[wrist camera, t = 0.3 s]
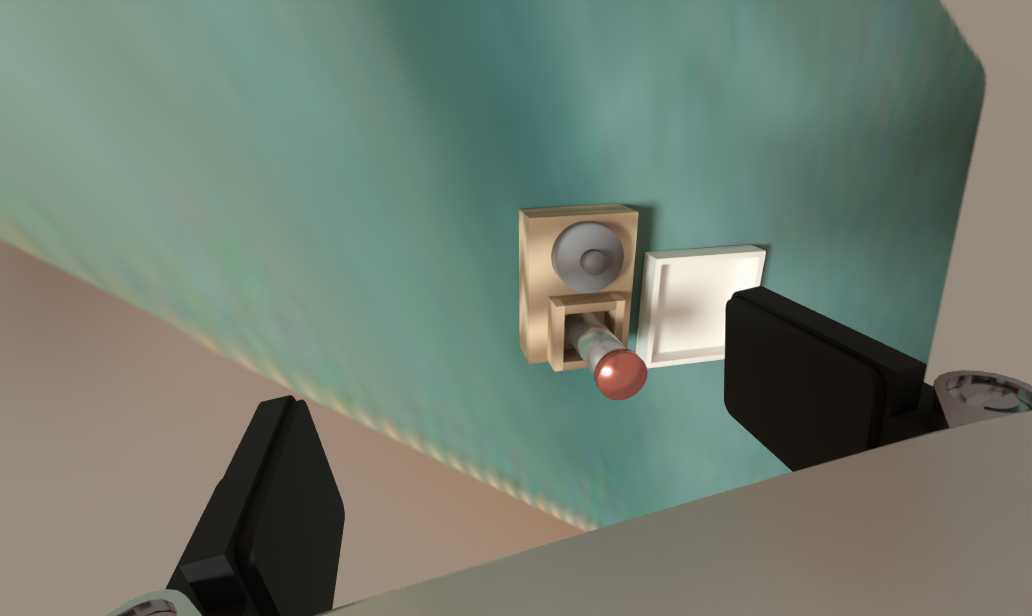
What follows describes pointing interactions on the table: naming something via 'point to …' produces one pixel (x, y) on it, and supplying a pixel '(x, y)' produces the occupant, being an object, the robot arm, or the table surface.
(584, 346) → the pin
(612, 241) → the wooden base with socket
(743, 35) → the table surface
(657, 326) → the tray
